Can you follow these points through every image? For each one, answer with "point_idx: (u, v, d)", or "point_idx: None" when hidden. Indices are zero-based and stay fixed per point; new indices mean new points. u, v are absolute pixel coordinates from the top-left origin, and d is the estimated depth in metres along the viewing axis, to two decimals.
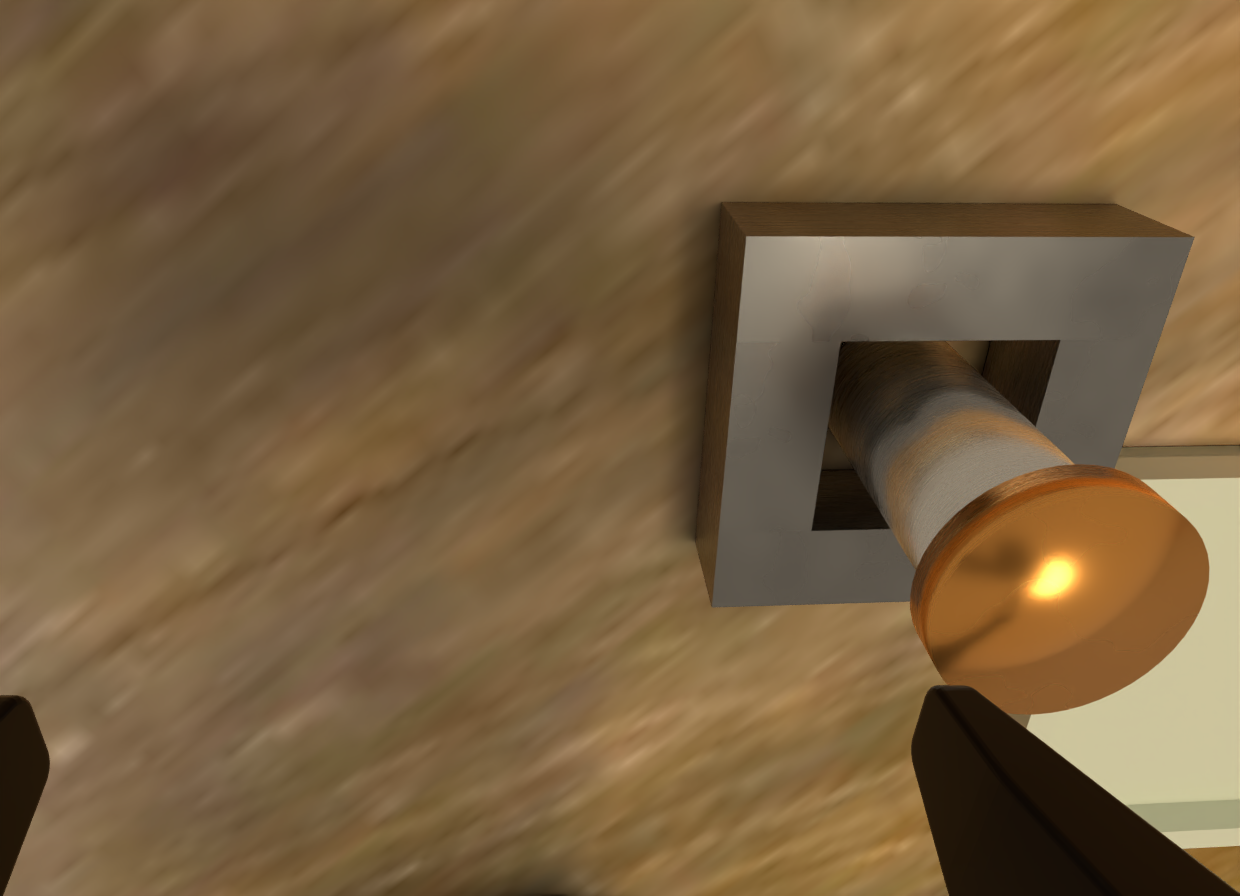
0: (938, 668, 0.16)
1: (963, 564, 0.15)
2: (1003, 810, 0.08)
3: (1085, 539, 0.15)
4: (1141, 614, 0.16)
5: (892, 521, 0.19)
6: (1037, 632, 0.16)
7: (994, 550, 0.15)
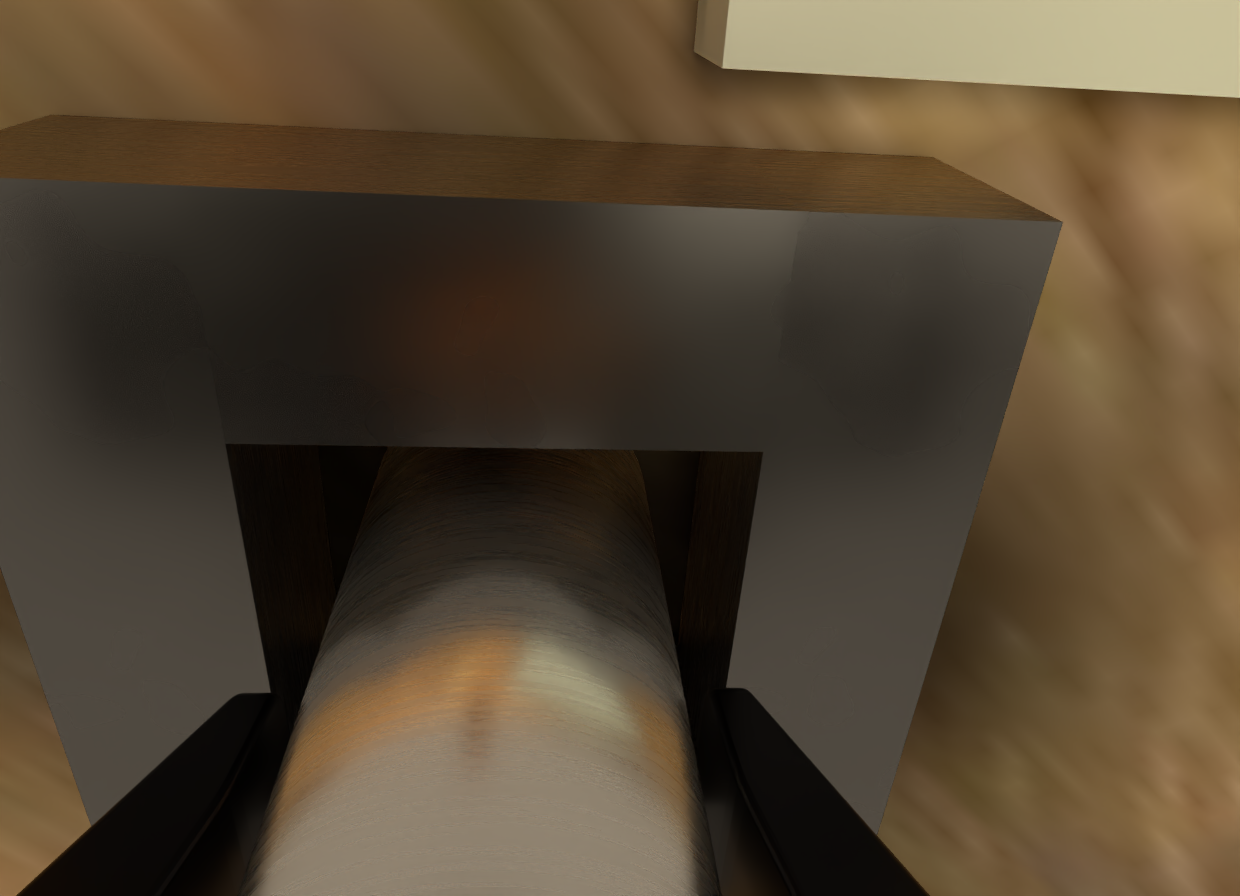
0: None
1: None
2: (740, 817, 0.07)
3: None
4: None
5: None
6: None
7: None
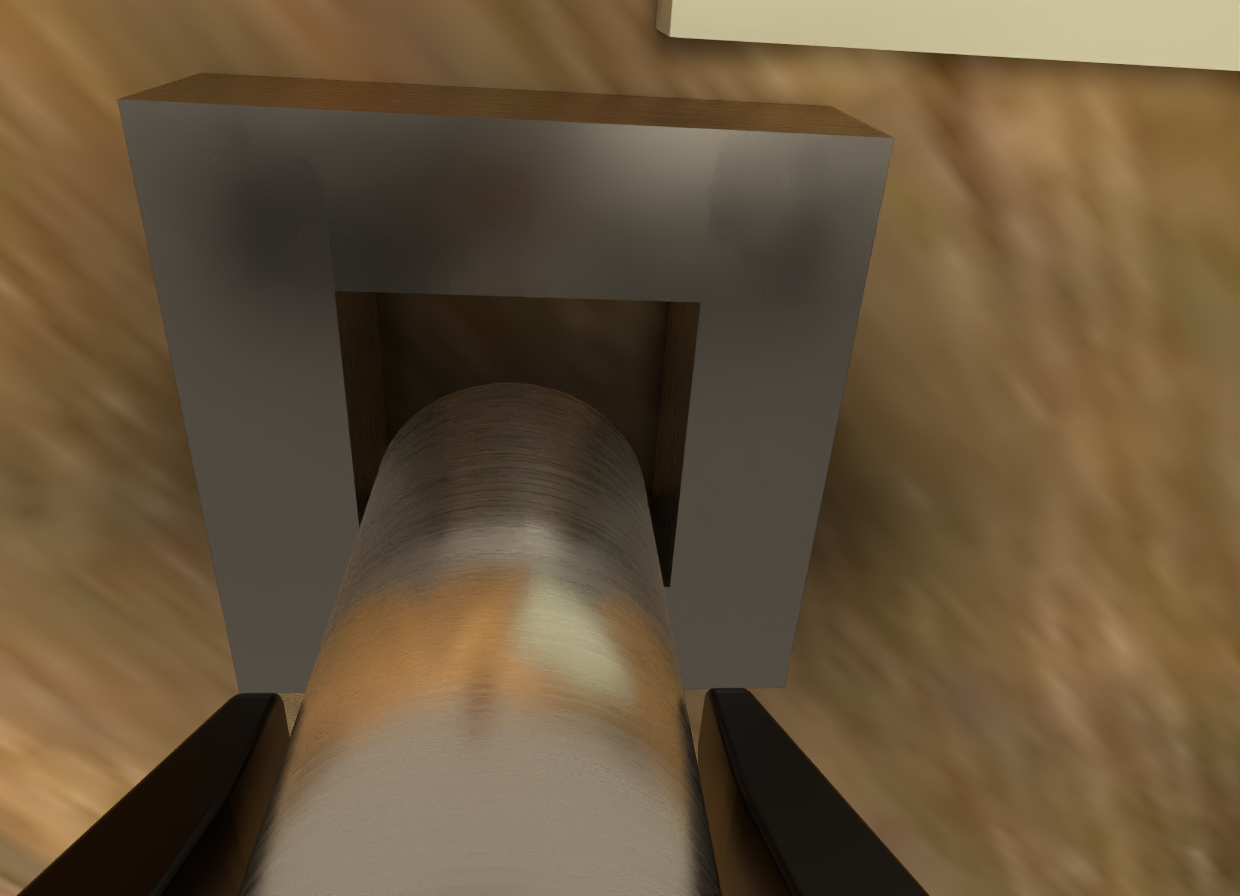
0: None
1: None
2: (739, 817, 0.07)
3: None
4: None
5: None
6: None
7: None
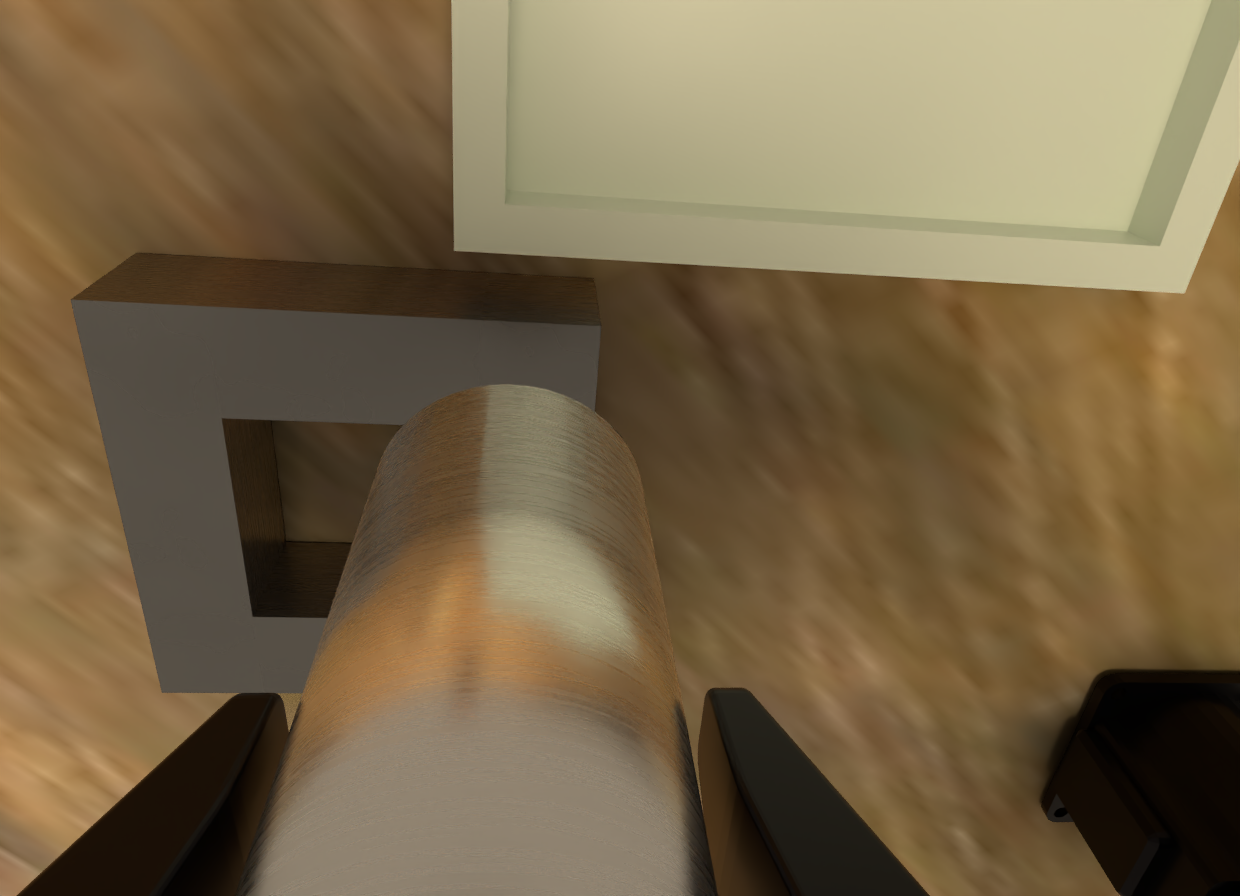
0: None
1: None
2: (739, 816, 0.07)
3: None
4: None
5: None
6: None
7: None
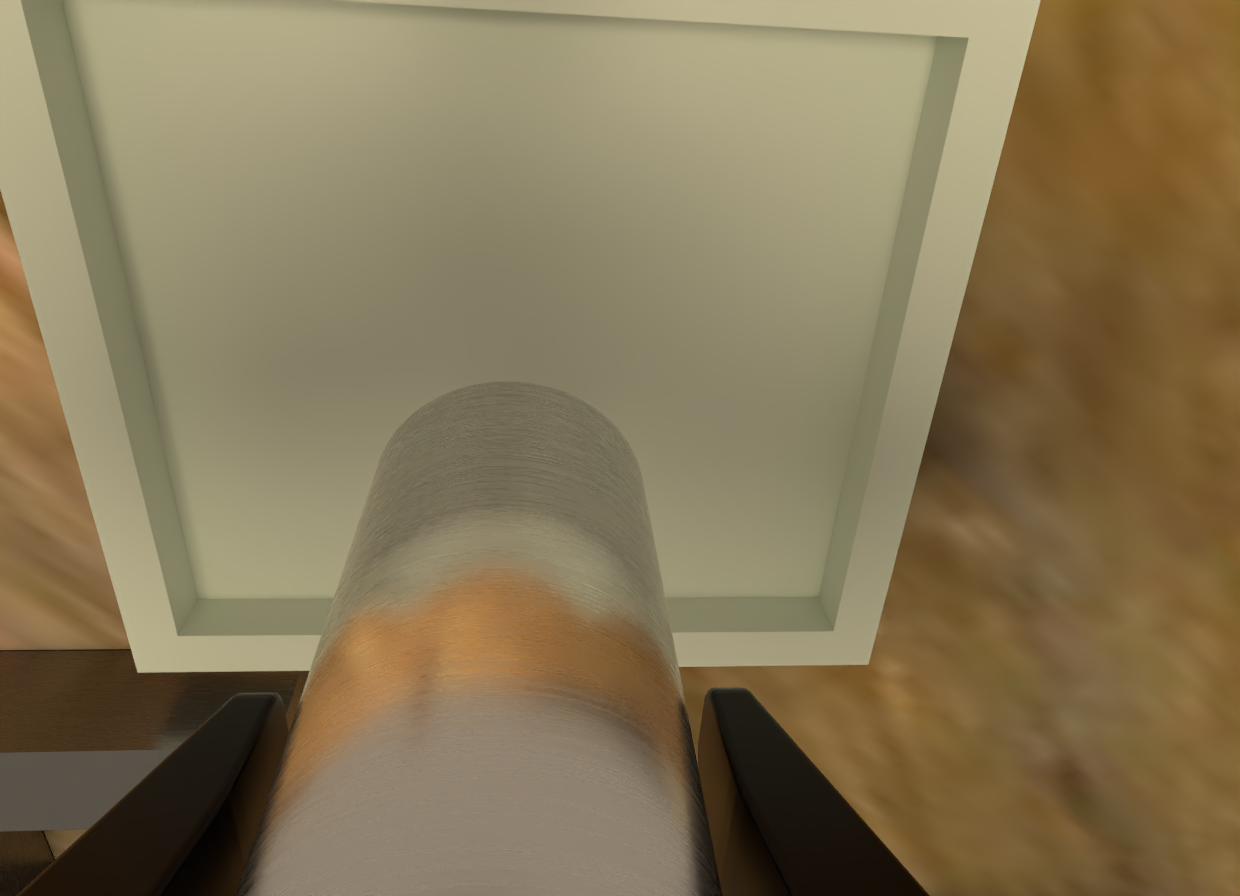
0: None
1: None
2: (739, 816, 0.07)
3: None
4: None
5: None
6: None
7: None
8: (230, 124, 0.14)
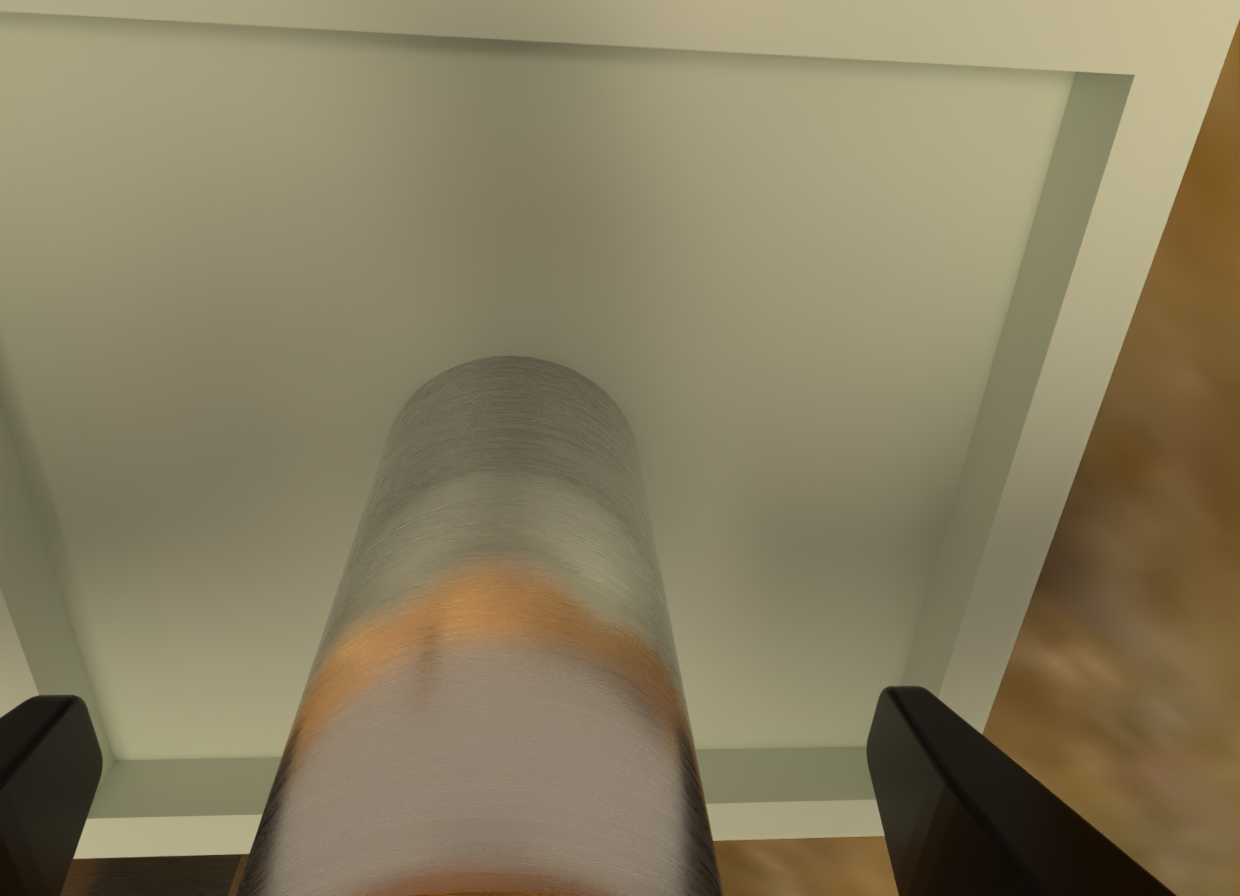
0: None
1: None
2: (948, 812, 0.08)
3: None
4: None
5: None
6: None
7: None
8: (124, 188, 0.11)
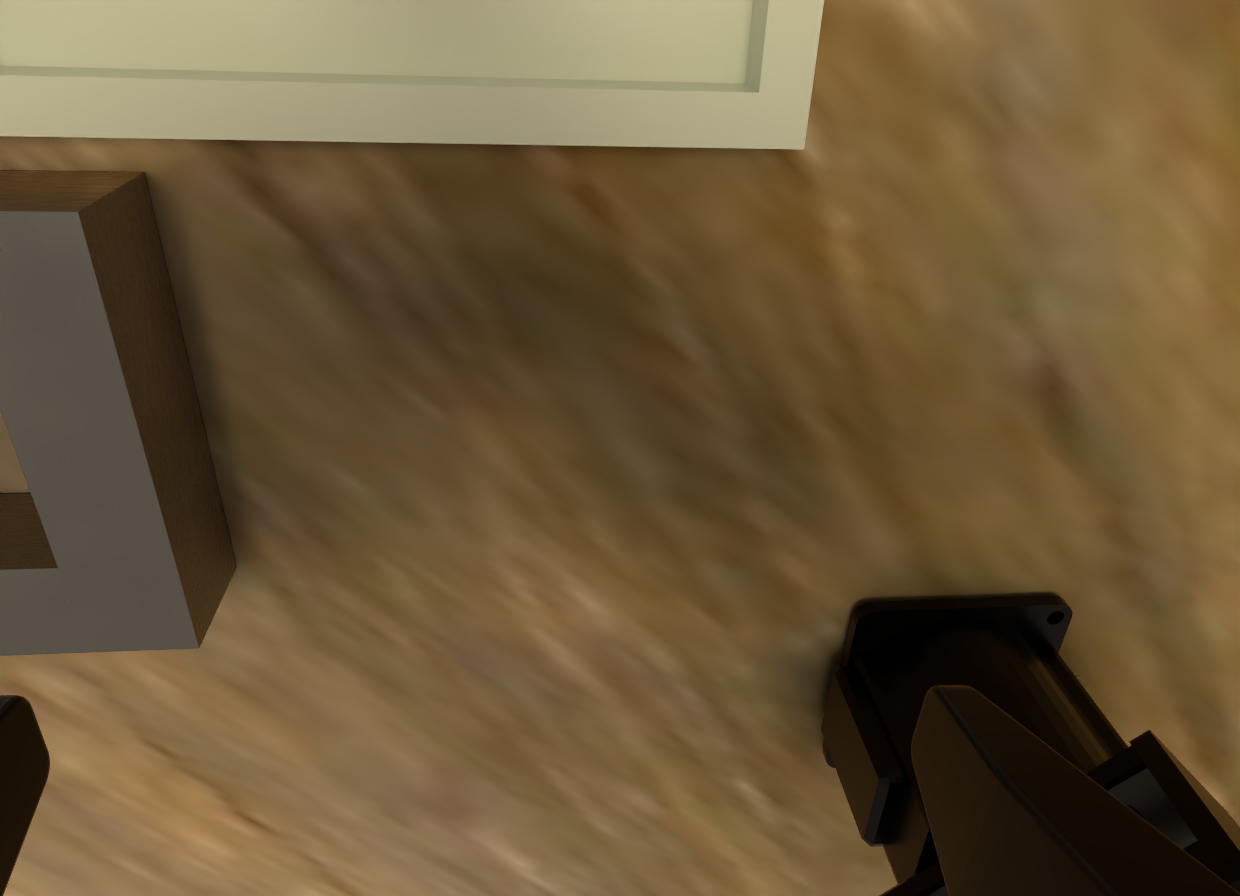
0: None
1: None
2: (1003, 810, 0.08)
3: None
4: None
5: None
6: None
7: None
8: None
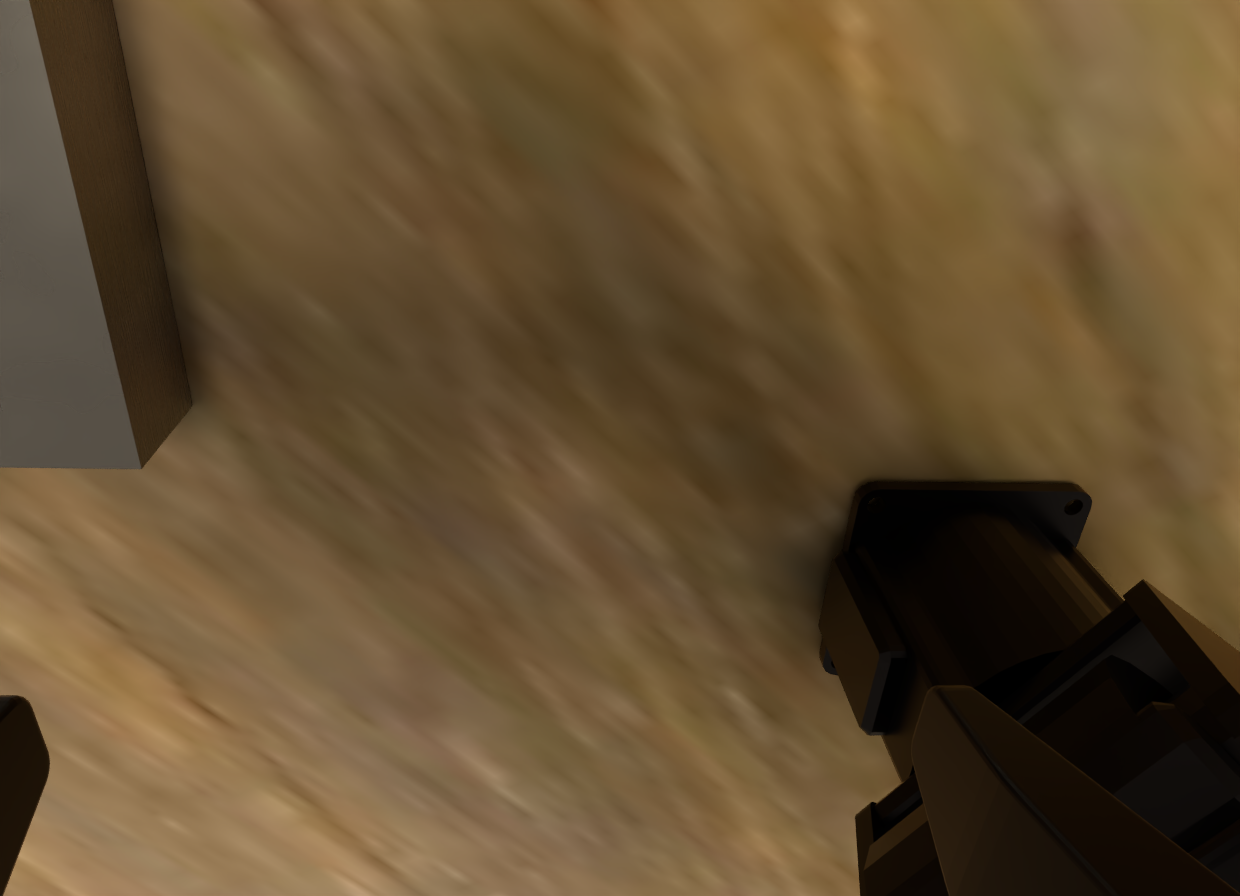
0: None
1: None
2: (1003, 810, 0.08)
3: None
4: None
5: None
6: None
7: None
8: None
